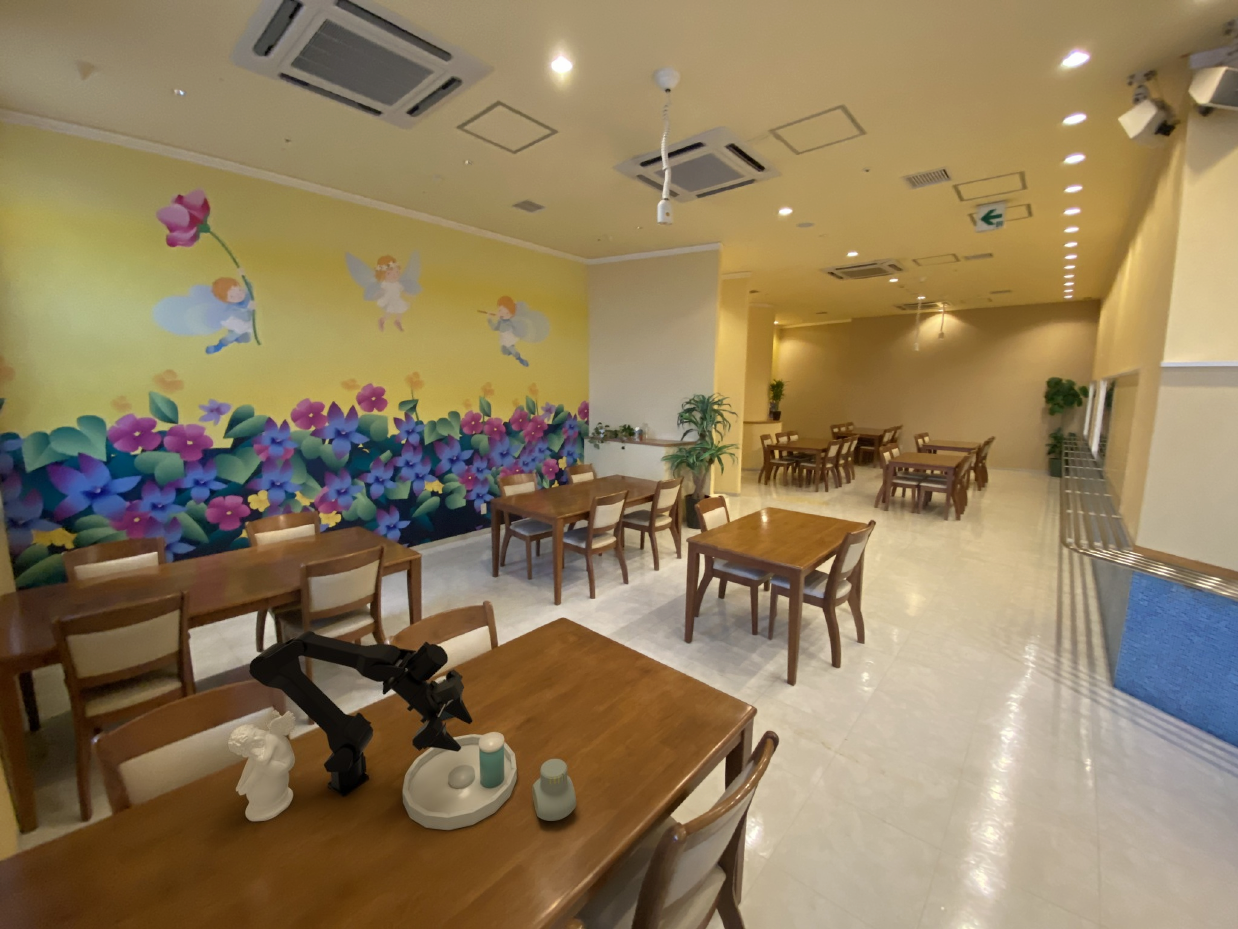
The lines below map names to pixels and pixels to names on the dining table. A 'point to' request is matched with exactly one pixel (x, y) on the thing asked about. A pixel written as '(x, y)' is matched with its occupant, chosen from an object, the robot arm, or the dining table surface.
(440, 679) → the watch
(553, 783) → the air freshener
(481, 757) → the bead jar
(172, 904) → the dining table surface
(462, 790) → the groove tray
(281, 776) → the cherub figurine
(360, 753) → the robot arm
